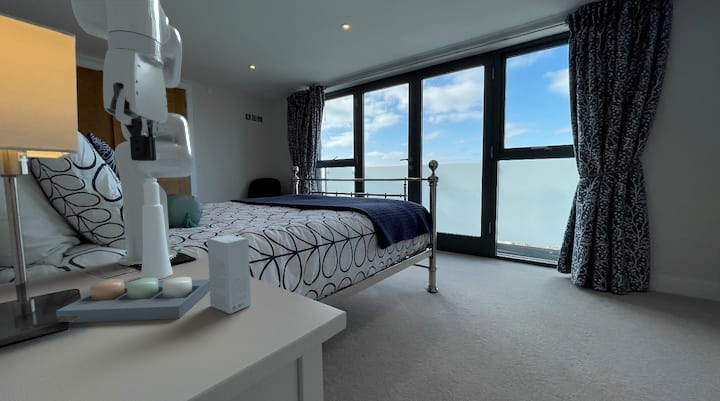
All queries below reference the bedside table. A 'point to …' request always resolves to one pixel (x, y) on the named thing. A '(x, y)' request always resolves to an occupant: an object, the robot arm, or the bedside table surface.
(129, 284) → the sage button
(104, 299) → the terracotta button
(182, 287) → the ivory button
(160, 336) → the bedside table surface
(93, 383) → the bedside table surface
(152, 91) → the robot arm
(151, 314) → the button board
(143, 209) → the cosmetic bottle
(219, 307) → the skincare box
